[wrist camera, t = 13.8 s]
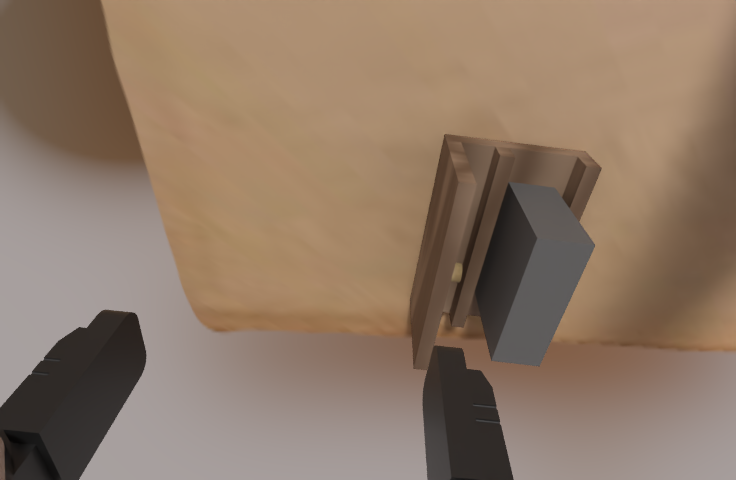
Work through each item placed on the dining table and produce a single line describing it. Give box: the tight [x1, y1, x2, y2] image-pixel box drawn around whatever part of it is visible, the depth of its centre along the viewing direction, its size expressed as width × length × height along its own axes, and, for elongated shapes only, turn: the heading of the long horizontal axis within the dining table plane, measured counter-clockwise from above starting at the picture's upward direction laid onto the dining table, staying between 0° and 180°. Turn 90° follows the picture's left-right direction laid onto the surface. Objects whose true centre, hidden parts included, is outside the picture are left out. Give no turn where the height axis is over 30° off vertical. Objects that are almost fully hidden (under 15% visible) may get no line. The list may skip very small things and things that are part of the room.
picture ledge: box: [410, 134, 602, 370], centre depth 38 cm, size 12×18×10 cm, turn 174°
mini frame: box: [475, 182, 595, 366], centre depth 37 cm, size 4×12×9 cm, turn 174°
